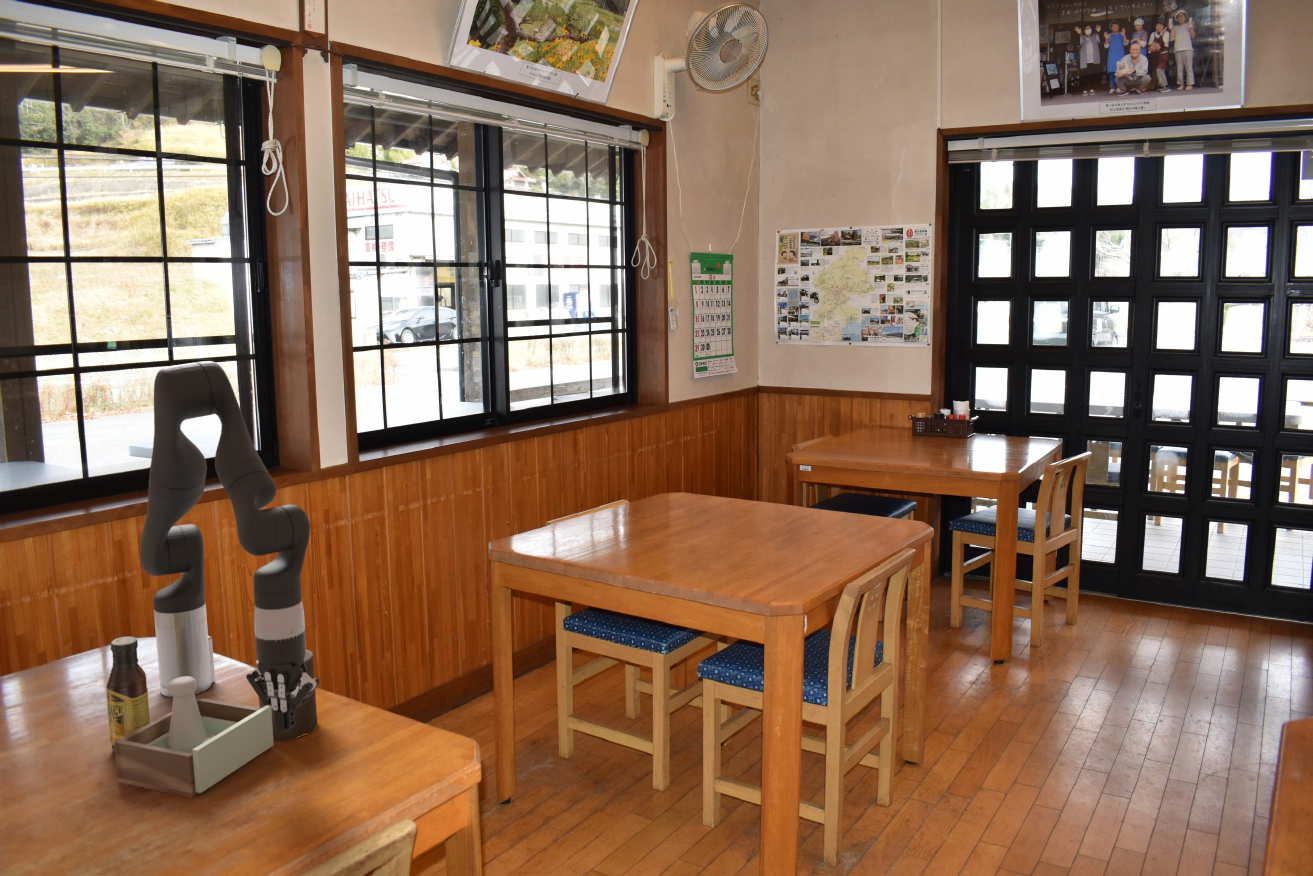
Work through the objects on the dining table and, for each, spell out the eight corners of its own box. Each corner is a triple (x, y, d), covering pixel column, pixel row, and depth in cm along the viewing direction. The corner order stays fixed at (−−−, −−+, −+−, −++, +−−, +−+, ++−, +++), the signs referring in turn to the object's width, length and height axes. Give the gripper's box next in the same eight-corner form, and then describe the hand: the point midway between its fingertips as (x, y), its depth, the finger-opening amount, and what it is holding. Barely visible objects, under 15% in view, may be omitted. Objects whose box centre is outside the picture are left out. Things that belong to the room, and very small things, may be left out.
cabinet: (200, 734, 176) (198, 697, 175) (269, 746, 172) (267, 709, 171) (118, 782, 160) (114, 742, 158) (192, 798, 155) (188, 756, 154)
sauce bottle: (105, 748, 171) (95, 639, 168) (143, 735, 176) (134, 630, 172) (119, 760, 167) (109, 649, 163) (158, 747, 171) (148, 639, 168)
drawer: (204, 732, 175) (201, 694, 174) (273, 745, 171) (271, 706, 170) (126, 777, 159) (122, 736, 158) (200, 793, 155) (197, 750, 154)
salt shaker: (212, 752, 166) (206, 679, 164) (176, 763, 162) (170, 689, 160) (199, 740, 170) (193, 669, 168) (164, 751, 166) (158, 679, 164)
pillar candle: (322, 732, 177) (318, 653, 175) (265, 745, 172) (260, 664, 170) (310, 713, 185) (306, 637, 183) (255, 725, 180) (250, 647, 178)
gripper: (329, 626, 158) (334, 726, 161) (262, 616, 162) (267, 713, 165) (299, 643, 151) (304, 747, 154) (229, 632, 155) (236, 733, 158)
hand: (285, 729), depth 160 cm, fingers closed
